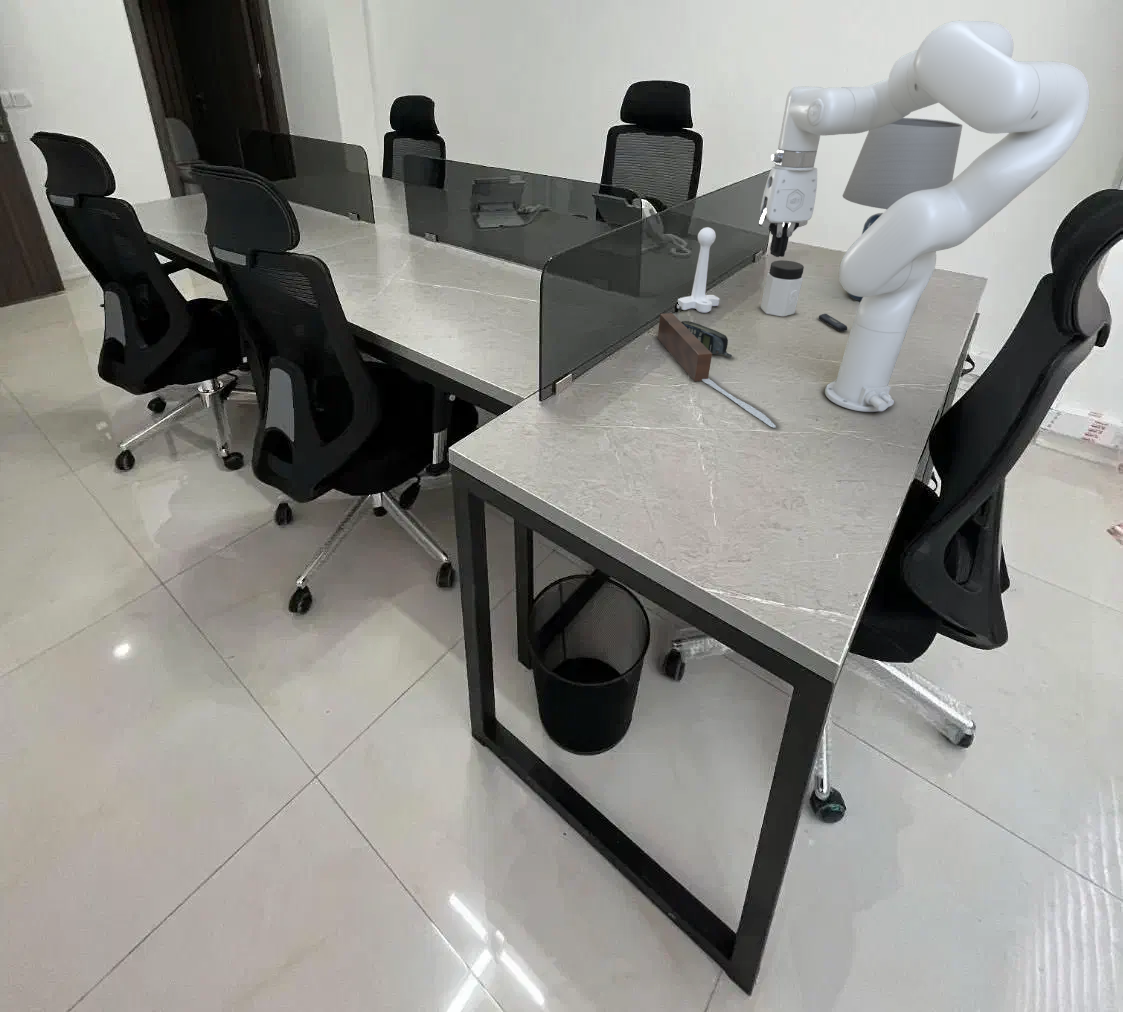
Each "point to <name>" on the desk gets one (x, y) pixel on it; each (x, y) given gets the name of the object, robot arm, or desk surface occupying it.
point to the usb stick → (833, 322)
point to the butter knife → (741, 403)
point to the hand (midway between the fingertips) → (777, 255)
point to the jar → (782, 288)
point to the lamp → (902, 163)
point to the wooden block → (684, 347)
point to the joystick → (701, 277)
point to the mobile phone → (709, 338)
